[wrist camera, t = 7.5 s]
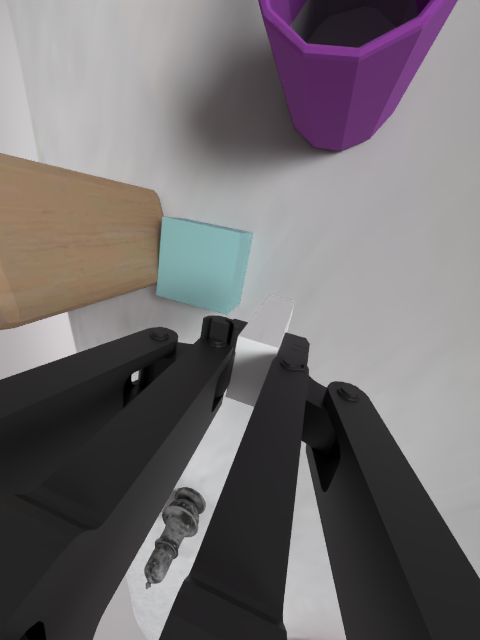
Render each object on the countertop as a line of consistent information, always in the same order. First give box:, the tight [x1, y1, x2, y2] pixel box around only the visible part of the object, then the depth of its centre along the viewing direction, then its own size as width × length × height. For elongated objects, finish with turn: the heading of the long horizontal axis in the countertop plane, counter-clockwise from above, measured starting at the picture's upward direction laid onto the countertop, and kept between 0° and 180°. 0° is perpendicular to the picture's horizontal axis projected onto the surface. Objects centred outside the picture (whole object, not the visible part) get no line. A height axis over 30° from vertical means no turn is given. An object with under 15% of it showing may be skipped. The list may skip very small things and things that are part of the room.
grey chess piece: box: [144, 487, 206, 589], centre depth 39 cm, size 6×6×12 cm
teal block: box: [156, 217, 253, 315], centre depth 29 cm, size 8×8×5 cm
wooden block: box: [0, 153, 164, 330], centre depth 24 cm, size 10×10×20 cm
